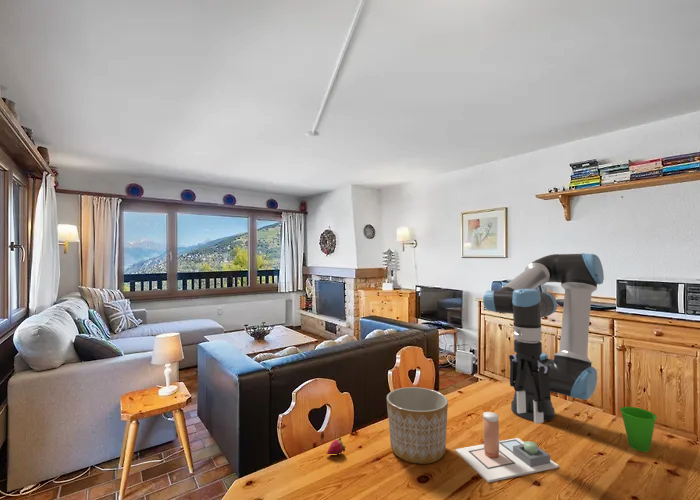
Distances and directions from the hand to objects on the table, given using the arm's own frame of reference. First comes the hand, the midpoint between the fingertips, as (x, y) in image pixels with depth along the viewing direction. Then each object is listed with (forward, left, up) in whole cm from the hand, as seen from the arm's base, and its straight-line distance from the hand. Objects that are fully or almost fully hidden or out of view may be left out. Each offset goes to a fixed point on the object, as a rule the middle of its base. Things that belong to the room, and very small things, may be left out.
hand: (529, 417), depth 103 cm
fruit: (-20, -56, -13) cm, 61 cm away
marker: (-5, -10, -12) cm, 17 cm away
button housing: (0, 0, -13) cm, 13 cm away
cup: (+4, +38, -13) cm, 40 cm away
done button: (0, 0, -11) cm, 11 cm away
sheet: (-3, -7, -13) cm, 15 cm away
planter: (-15, -30, -13) cm, 36 cm away
